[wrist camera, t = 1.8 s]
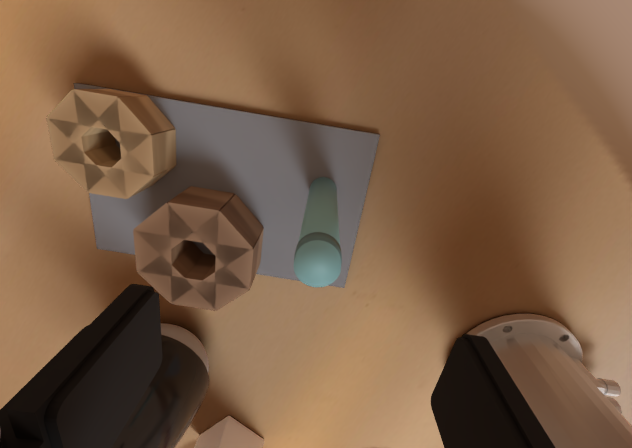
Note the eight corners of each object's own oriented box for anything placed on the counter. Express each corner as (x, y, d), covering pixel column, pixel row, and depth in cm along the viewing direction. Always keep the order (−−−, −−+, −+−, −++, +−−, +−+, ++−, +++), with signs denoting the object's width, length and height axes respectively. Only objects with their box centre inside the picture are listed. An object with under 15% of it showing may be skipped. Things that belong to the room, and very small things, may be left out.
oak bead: (174, 100, 23) (149, 102, 20) (176, 189, 26) (155, 203, 23) (80, 84, 23) (39, 83, 20) (92, 175, 26) (58, 188, 23)
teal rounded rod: (339, 179, 25) (346, 249, 14) (334, 205, 26) (337, 291, 15) (311, 174, 25) (295, 241, 14) (307, 201, 26) (289, 284, 15)
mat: (379, 134, 24) (379, 134, 24) (344, 284, 30) (344, 287, 29) (78, 83, 24) (73, 83, 23) (100, 246, 29) (96, 248, 29)
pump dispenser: (126, 295, 31) (-39, 461, 17) (228, 321, 32) (148, 500, 18) (123, 366, 35) (-13, 548, 21) (214, 388, 36) (139, 577, 22)
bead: (266, 198, 26) (256, 216, 22) (257, 287, 30) (247, 315, 26) (158, 180, 26) (130, 196, 22) (163, 272, 29) (138, 299, 26)
